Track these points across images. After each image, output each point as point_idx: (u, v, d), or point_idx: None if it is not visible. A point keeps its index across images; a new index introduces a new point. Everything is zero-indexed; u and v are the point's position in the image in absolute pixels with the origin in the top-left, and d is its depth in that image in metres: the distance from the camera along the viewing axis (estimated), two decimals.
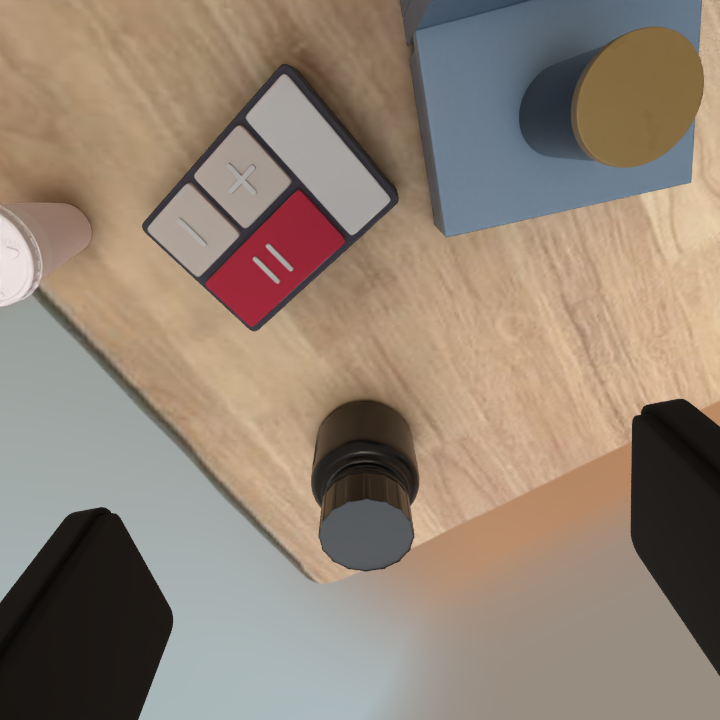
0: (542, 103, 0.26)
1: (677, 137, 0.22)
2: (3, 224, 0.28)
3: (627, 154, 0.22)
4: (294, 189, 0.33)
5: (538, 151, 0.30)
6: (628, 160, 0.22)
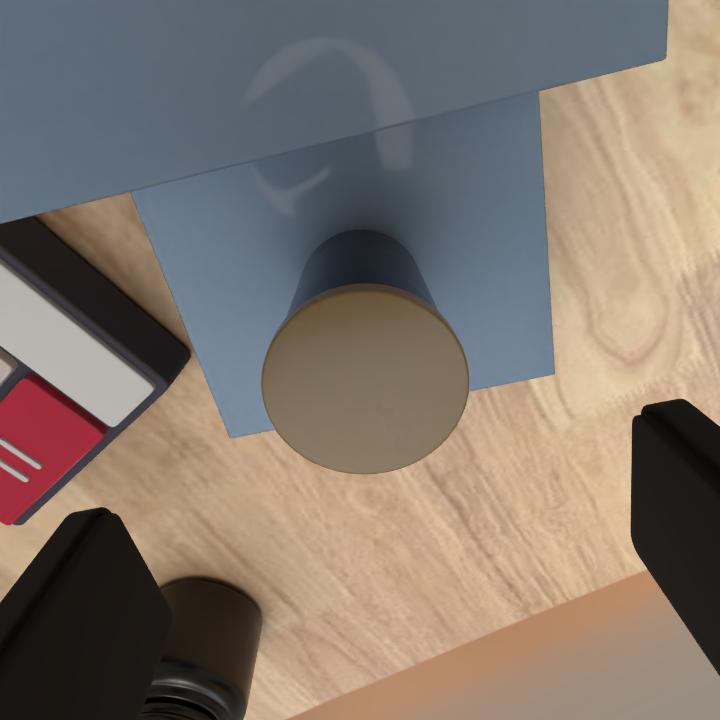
0: None
1: (439, 437, 0.13)
2: None
3: (363, 459, 0.14)
4: (24, 373, 0.24)
5: None
6: (367, 466, 0.14)
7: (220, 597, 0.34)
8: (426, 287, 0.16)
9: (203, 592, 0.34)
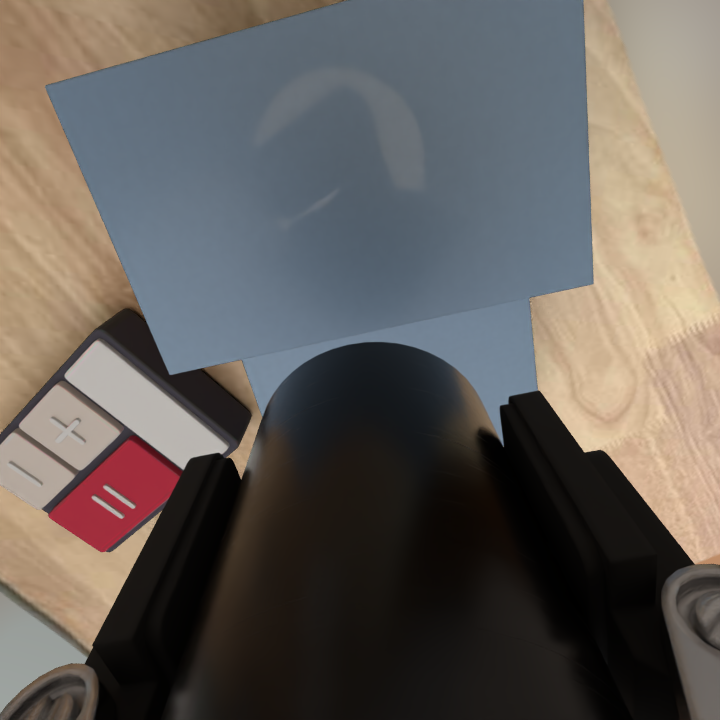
0: None
1: None
2: None
3: None
4: (128, 435, 0.31)
5: None
6: None
7: None
8: (551, 552, 0.06)
9: None
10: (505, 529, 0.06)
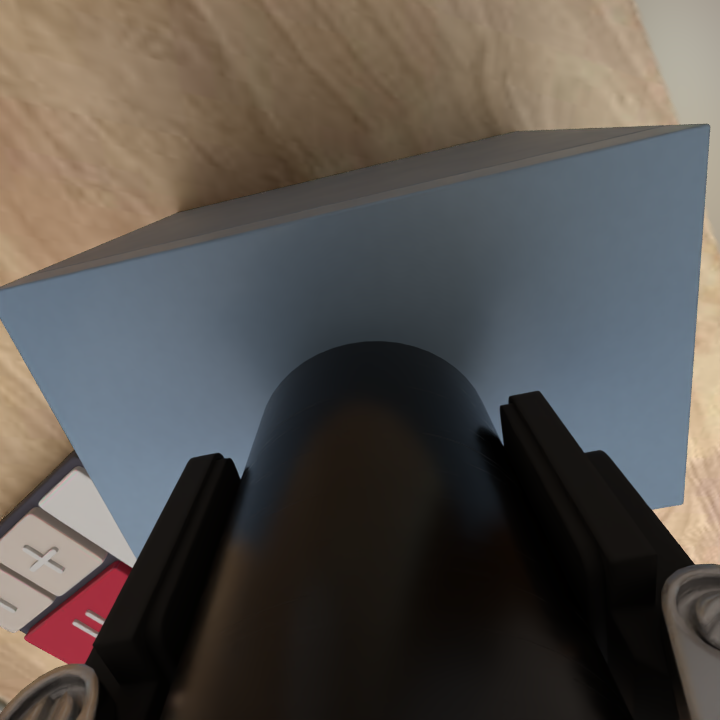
0: None
1: None
2: None
3: None
4: (112, 560, 0.27)
5: None
6: None
7: None
8: (551, 551, 0.06)
9: None
10: (505, 528, 0.06)
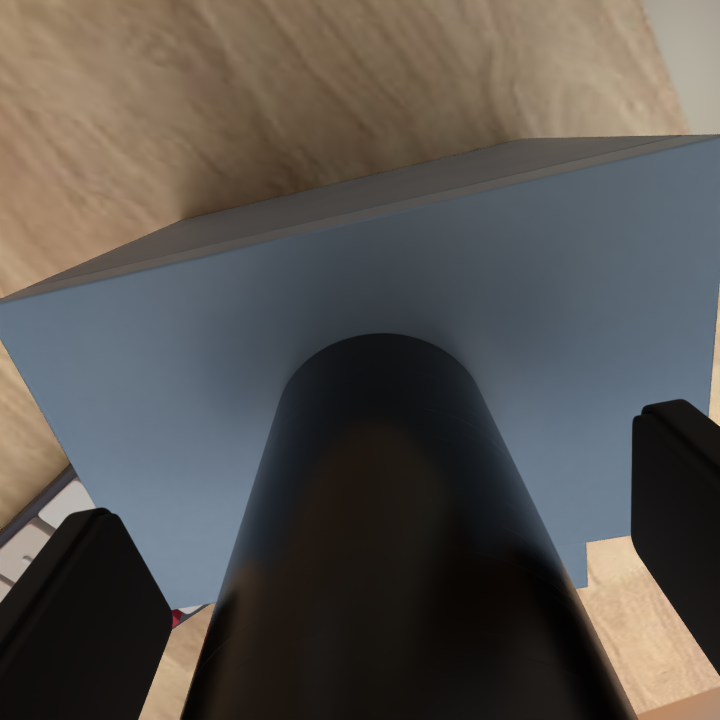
0: None
1: None
2: None
3: None
4: None
5: None
6: None
7: None
8: (534, 508, 0.07)
9: None
10: (494, 484, 0.07)
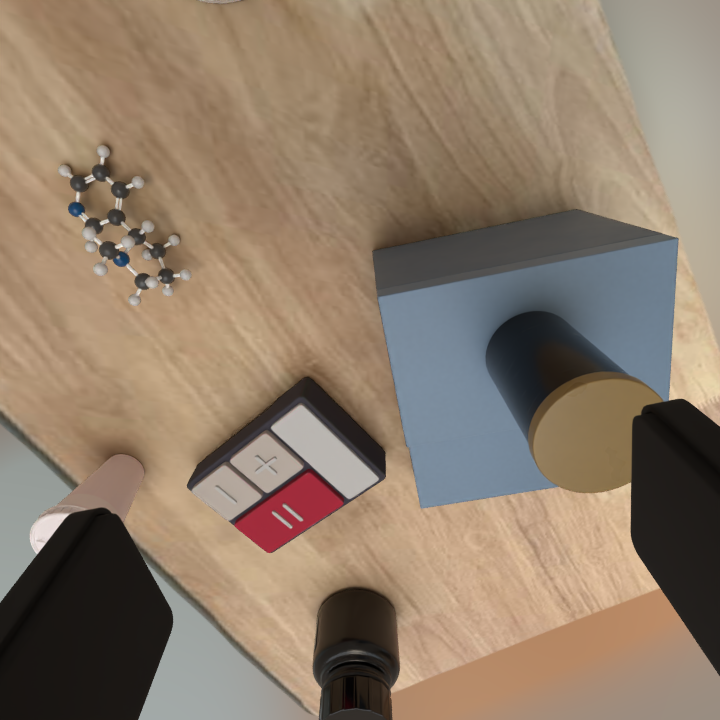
0: (505, 380, 0.24)
1: None
2: None
3: (589, 483, 0.21)
4: (305, 468, 0.43)
5: None
6: (590, 487, 0.21)
7: (376, 601, 0.52)
8: None
9: (365, 597, 0.52)
10: (600, 351, 0.23)
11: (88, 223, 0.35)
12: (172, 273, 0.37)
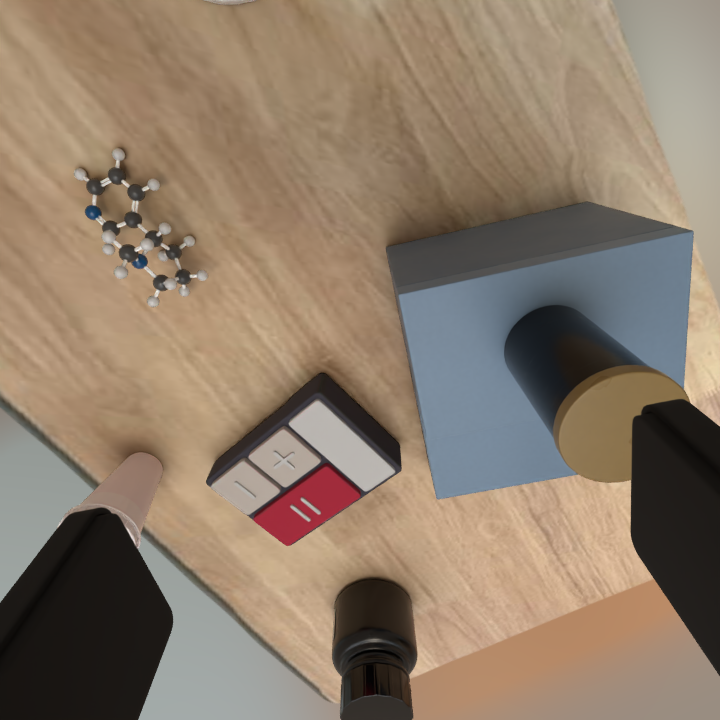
0: (526, 374, 0.25)
1: None
2: None
3: (612, 472, 0.21)
4: (322, 462, 0.43)
5: None
6: (613, 477, 0.21)
7: (392, 590, 0.53)
8: None
9: (382, 587, 0.53)
10: (620, 344, 0.23)
11: (105, 226, 0.36)
12: (189, 274, 0.37)
